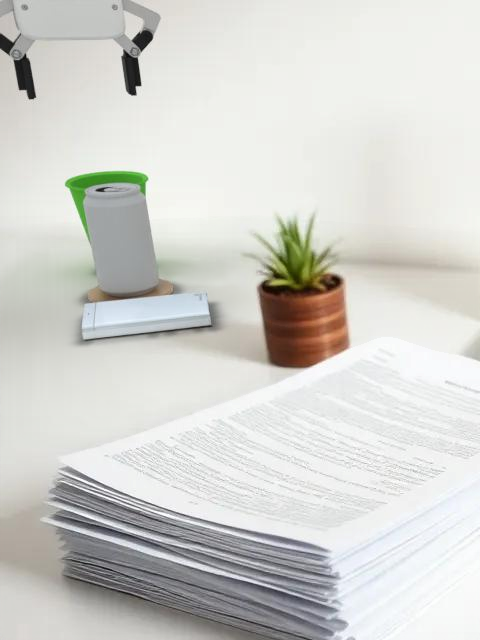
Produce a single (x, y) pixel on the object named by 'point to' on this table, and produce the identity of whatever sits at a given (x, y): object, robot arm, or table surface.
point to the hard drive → (145, 315)
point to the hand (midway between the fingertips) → (82, 95)
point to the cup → (98, 178)
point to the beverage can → (121, 239)
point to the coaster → (159, 290)
